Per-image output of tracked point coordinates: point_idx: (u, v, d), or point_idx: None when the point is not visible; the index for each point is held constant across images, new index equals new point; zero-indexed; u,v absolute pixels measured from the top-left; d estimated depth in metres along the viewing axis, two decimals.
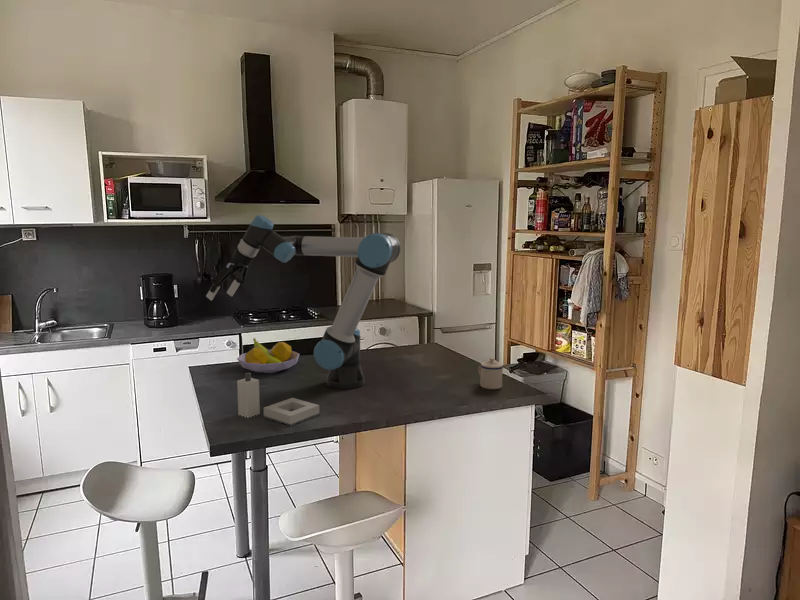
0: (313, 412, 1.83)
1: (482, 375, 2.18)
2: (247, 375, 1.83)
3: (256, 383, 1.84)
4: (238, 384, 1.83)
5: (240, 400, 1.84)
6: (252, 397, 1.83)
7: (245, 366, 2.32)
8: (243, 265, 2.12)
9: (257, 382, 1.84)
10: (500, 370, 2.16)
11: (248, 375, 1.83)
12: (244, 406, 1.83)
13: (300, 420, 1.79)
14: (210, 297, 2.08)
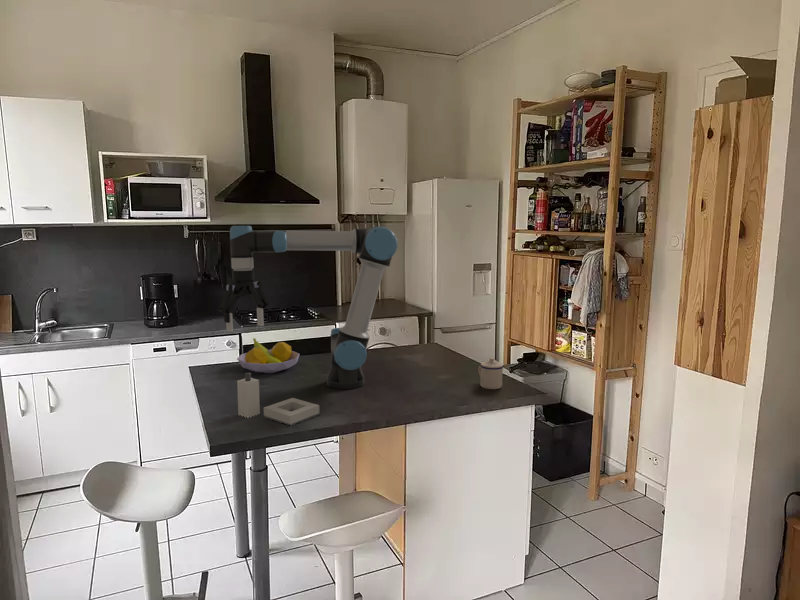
0: (313, 412, 1.83)
1: (482, 375, 2.18)
2: (247, 375, 1.83)
3: (256, 383, 1.84)
4: (238, 384, 1.83)
5: (240, 400, 1.84)
6: (252, 397, 1.83)
7: (245, 366, 2.32)
8: (249, 284, 1.96)
9: (257, 382, 1.84)
10: (500, 370, 2.16)
11: (248, 375, 1.83)
12: (244, 406, 1.83)
13: (300, 420, 1.79)
14: (229, 329, 1.91)
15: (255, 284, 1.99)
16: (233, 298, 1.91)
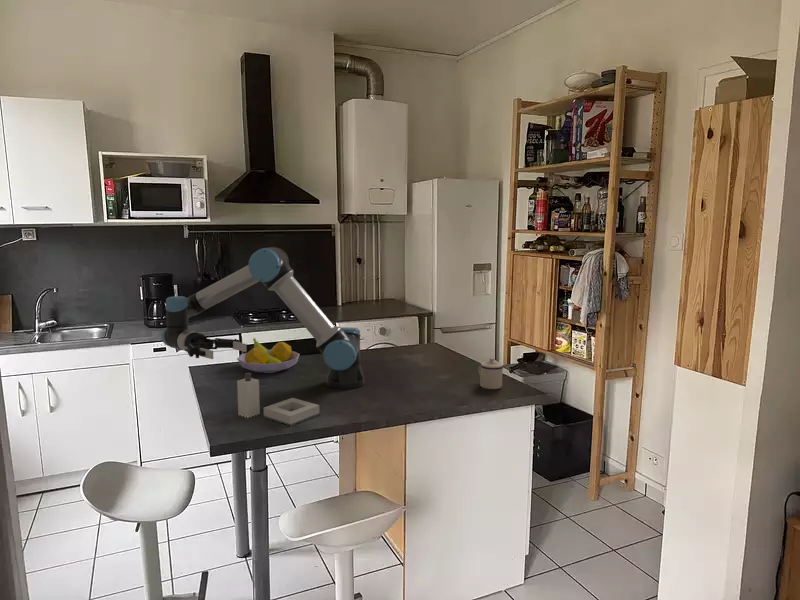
0: (313, 412, 1.83)
1: (482, 375, 2.18)
2: (247, 375, 1.83)
3: (256, 383, 1.84)
4: (238, 384, 1.83)
5: (240, 400, 1.84)
6: (252, 397, 1.83)
7: (245, 366, 2.32)
8: None
9: (257, 382, 1.84)
10: (500, 370, 2.16)
11: (248, 375, 1.83)
12: (244, 406, 1.83)
13: (300, 420, 1.79)
14: (209, 353, 1.83)
15: (214, 341, 2.01)
16: None
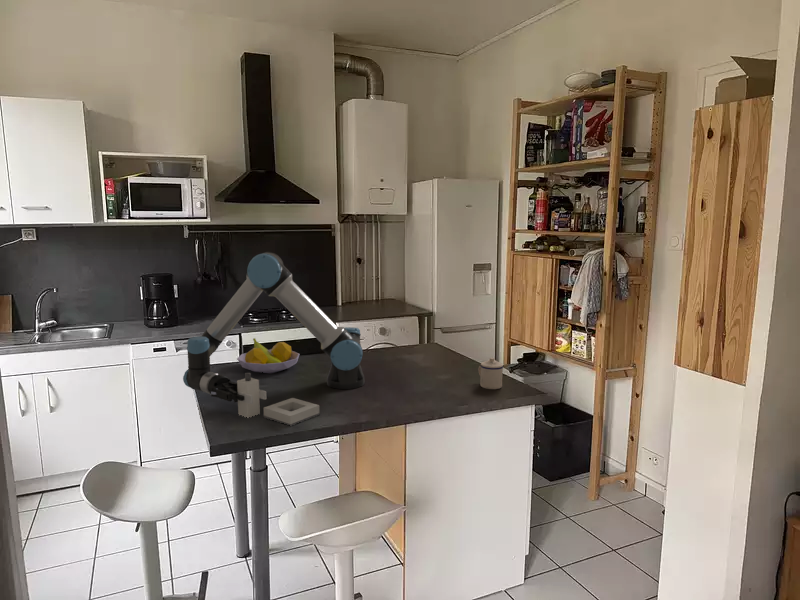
0: (313, 412, 1.83)
1: (482, 375, 2.18)
2: (247, 375, 1.83)
3: (256, 383, 1.84)
4: (238, 384, 1.83)
5: None
6: None
7: (245, 366, 2.32)
8: None
9: (257, 382, 1.84)
10: (500, 370, 2.16)
11: (248, 375, 1.83)
12: (244, 406, 1.83)
13: (300, 420, 1.79)
14: (249, 398, 1.79)
15: None
16: (227, 391, 1.86)
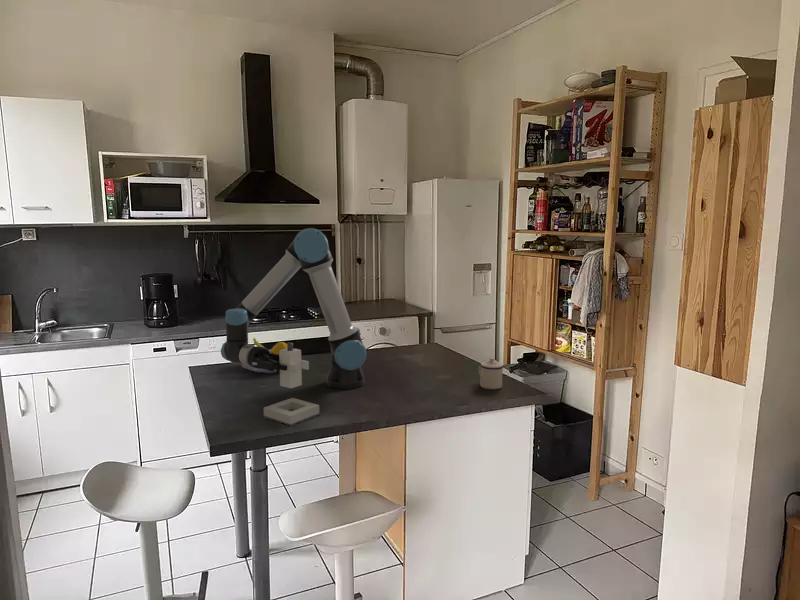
0: (313, 412, 1.83)
1: (482, 375, 2.18)
2: (289, 345, 1.80)
3: (298, 353, 1.81)
4: (280, 354, 1.80)
5: None
6: None
7: (245, 366, 2.32)
8: None
9: (299, 352, 1.81)
10: (500, 370, 2.16)
11: (290, 345, 1.80)
12: (287, 377, 1.80)
13: (300, 420, 1.79)
14: (292, 367, 1.76)
15: None
16: (269, 362, 1.83)
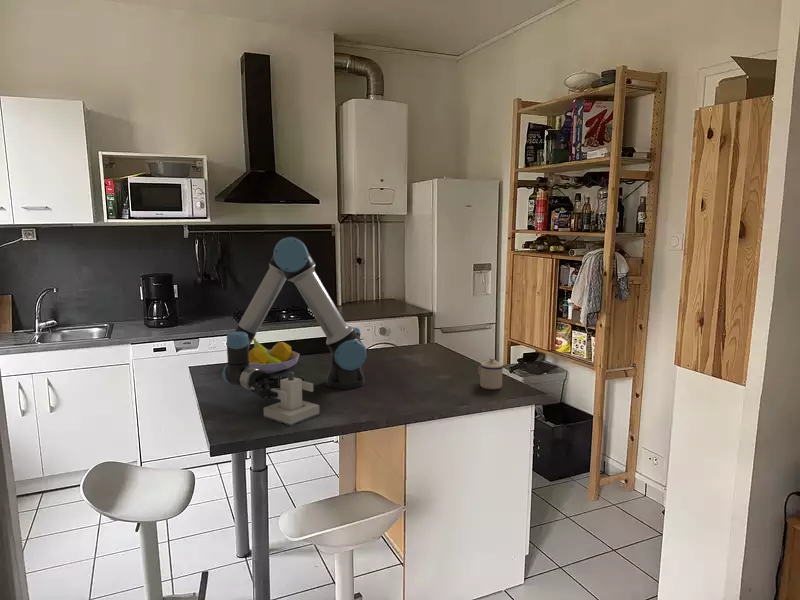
0: (313, 412, 1.83)
1: (482, 375, 2.18)
2: (290, 374, 1.81)
3: (299, 382, 1.82)
4: (281, 383, 1.82)
5: (283, 400, 1.82)
6: (295, 396, 1.81)
7: None
8: None
9: (300, 381, 1.83)
10: (500, 370, 2.16)
11: (291, 374, 1.81)
12: (288, 406, 1.81)
13: (300, 420, 1.79)
14: (283, 394, 1.76)
15: None
16: (265, 387, 1.84)
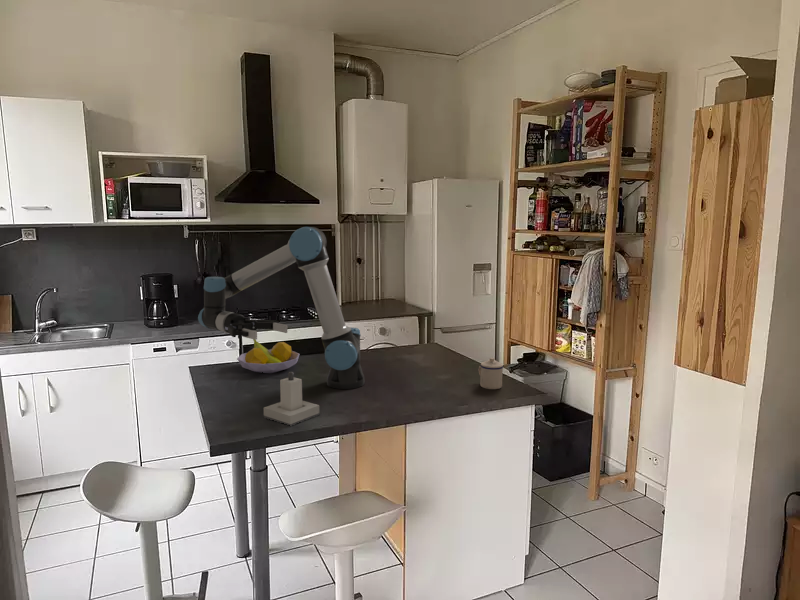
0: (313, 412, 1.83)
1: (482, 375, 2.18)
2: (290, 374, 1.81)
3: (299, 382, 1.82)
4: (281, 383, 1.82)
5: (283, 400, 1.82)
6: (295, 396, 1.81)
7: (245, 366, 2.32)
8: None
9: (300, 381, 1.83)
10: (500, 370, 2.16)
11: (291, 374, 1.81)
12: (288, 406, 1.81)
13: (300, 420, 1.79)
14: (253, 333, 1.81)
15: (253, 322, 1.99)
16: None
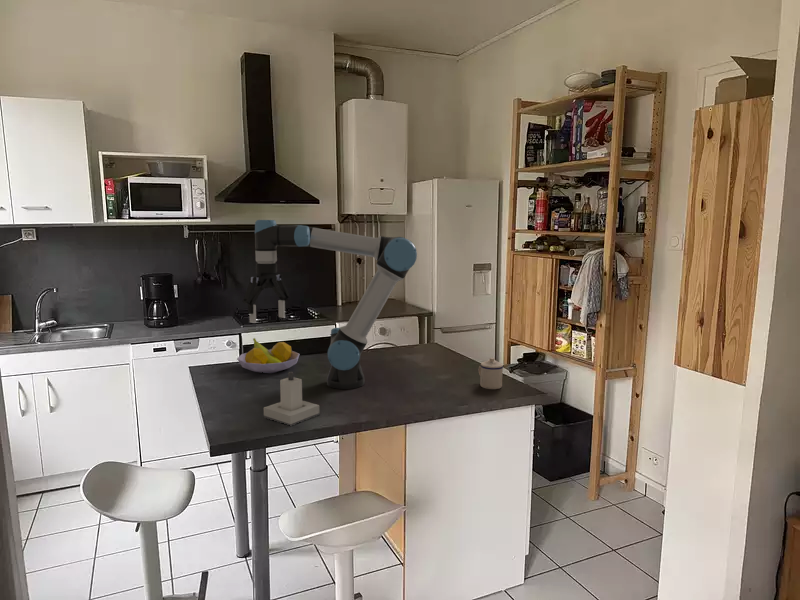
0: (313, 412, 1.83)
1: (482, 375, 2.18)
2: (290, 374, 1.81)
3: (299, 382, 1.82)
4: (281, 383, 1.82)
5: (283, 400, 1.82)
6: (295, 396, 1.81)
7: (245, 366, 2.32)
8: (272, 277, 2.01)
9: (300, 381, 1.83)
10: (500, 370, 2.16)
11: (291, 374, 1.81)
12: (288, 406, 1.81)
13: (300, 420, 1.79)
14: (253, 320, 1.96)
15: (277, 277, 2.04)
16: (257, 290, 1.97)
